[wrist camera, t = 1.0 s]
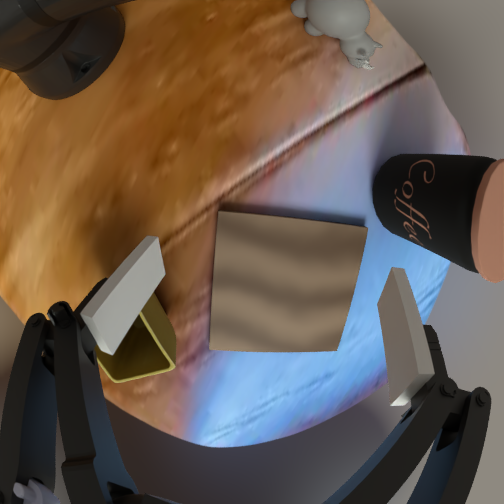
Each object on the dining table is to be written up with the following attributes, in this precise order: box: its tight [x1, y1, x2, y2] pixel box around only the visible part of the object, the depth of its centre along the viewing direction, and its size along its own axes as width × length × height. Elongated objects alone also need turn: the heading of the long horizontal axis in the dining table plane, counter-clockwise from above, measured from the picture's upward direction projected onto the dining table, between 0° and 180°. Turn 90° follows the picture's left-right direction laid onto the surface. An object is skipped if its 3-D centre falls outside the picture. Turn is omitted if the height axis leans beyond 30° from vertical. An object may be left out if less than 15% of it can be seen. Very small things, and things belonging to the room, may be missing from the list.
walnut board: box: [209, 210, 368, 352], centre depth 33 cm, size 18×18×1 cm
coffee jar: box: [373, 154, 504, 283], centre depth 23 cm, size 11×11×18 cm
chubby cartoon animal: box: [291, 0, 383, 70], centre depth 22 cm, size 7×12×8 cm, turn 38°
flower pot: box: [94, 292, 176, 383], centre depth 28 cm, size 9×9×9 cm
